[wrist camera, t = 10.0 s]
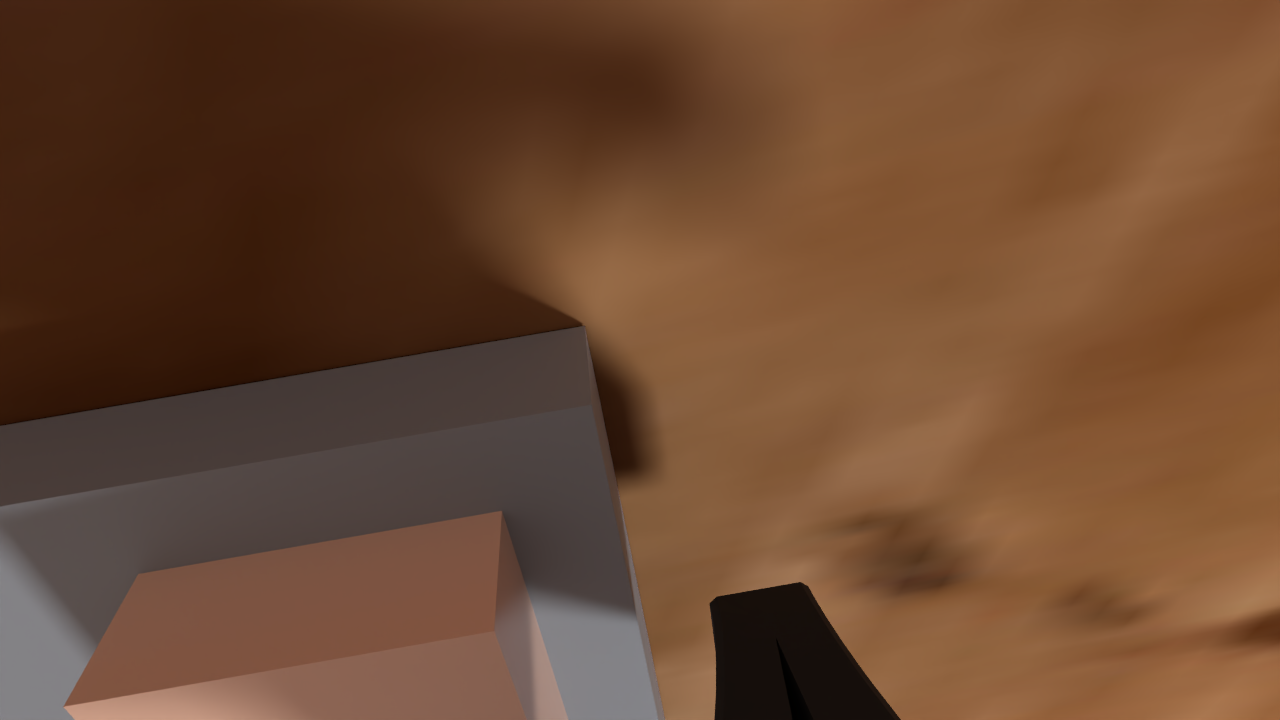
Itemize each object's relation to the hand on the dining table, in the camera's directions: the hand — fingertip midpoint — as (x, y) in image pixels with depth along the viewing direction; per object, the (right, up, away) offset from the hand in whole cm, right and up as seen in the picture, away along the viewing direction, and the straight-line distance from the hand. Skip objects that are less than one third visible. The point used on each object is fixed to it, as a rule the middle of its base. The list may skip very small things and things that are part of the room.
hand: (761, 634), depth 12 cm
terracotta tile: (-6, -1, +1) cm, 6 cm away
